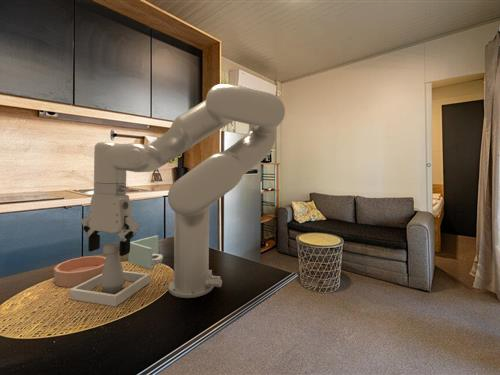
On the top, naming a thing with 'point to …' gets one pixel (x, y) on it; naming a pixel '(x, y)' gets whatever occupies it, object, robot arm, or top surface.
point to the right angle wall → (145, 252)
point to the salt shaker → (112, 269)
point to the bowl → (78, 270)
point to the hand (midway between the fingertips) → (109, 252)
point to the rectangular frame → (85, 295)
